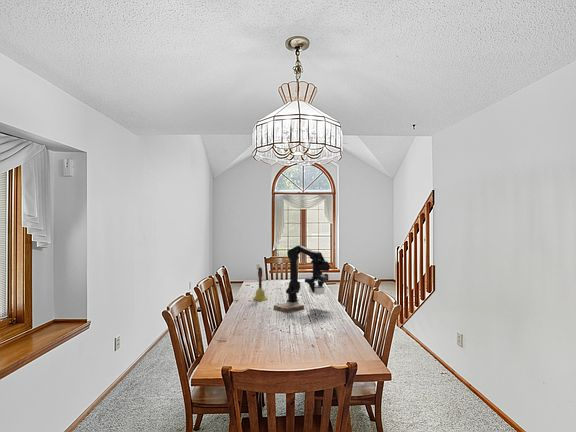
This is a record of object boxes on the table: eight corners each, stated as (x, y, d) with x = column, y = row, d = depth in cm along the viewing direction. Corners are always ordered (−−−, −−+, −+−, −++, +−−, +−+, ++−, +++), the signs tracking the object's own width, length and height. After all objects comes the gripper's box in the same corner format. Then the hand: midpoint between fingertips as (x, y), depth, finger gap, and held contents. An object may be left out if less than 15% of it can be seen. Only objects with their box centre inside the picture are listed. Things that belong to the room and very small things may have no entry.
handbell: (253, 301, 299) (253, 268, 299) (251, 298, 311) (251, 266, 311) (269, 300, 302) (269, 268, 302) (266, 297, 314) (266, 266, 314)
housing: (309, 292, 283) (309, 285, 283) (315, 291, 286) (315, 284, 286) (317, 294, 274) (317, 287, 274) (324, 293, 278) (324, 286, 278)
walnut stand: (273, 308, 274) (273, 305, 274) (290, 305, 285) (290, 302, 285) (287, 312, 264) (287, 308, 264) (304, 308, 274) (304, 305, 274)
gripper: (315, 272, 268) (315, 295, 268) (334, 269, 280) (334, 291, 280) (304, 270, 276) (304, 292, 276) (322, 268, 289) (322, 289, 289)
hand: (316, 291), depth 280 cm, fingers closed on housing, 6 cm apart
